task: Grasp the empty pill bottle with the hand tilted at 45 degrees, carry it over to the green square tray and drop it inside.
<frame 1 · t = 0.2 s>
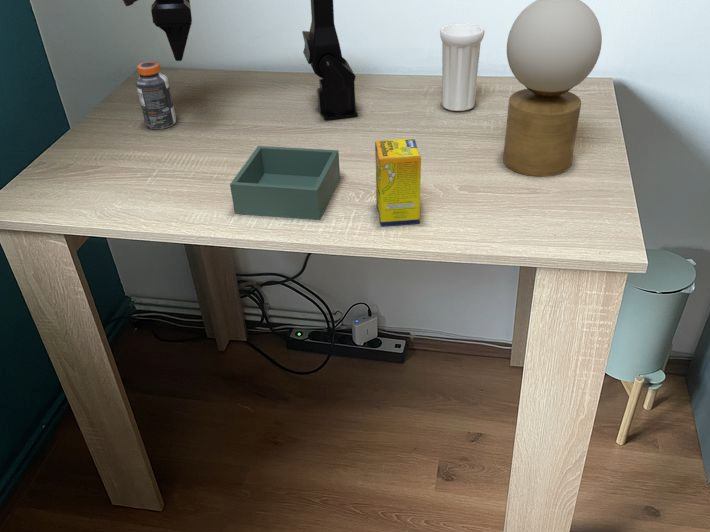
hand: (178, 52, 129), 14 cm above the table, tool pointing down, fingers open, 9 cm apart
supplement box: (397, 217, 110), on the table
green square tray: (289, 195, 116), on the table
cup: (458, 107, 141), on the table
lamp: (538, 157, 123), on the table
pill bottle: (161, 124, 141), on the table
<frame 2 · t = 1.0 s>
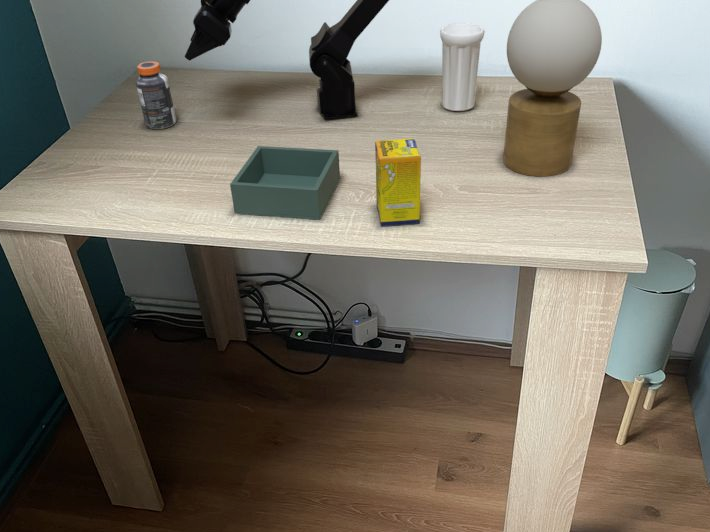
hand: (189, 50, 132), 13 cm above the table, tool tilted 45°, fingers open, 9 cm apart
nothing on the table moved.
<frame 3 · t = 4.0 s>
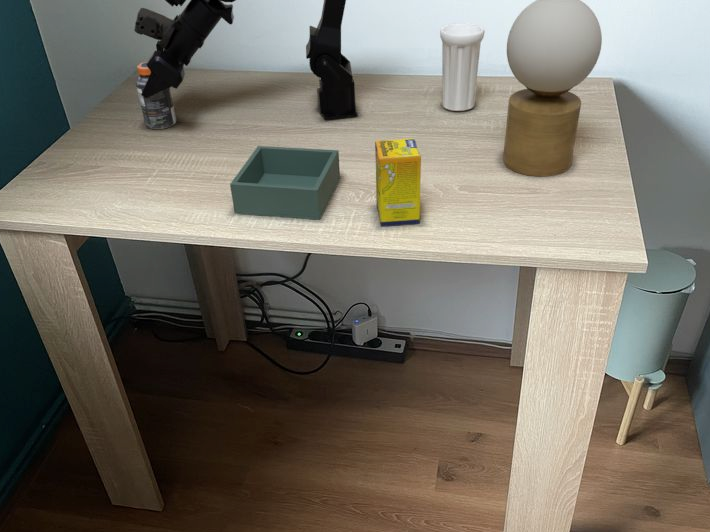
hand: (146, 90, 136), 7 cm above the table, tool tilted 45°, fingers closed on pill bottle, 6 cm apart
pill bottle: (161, 124, 141), on the table, touching gripper
everything else where it was.
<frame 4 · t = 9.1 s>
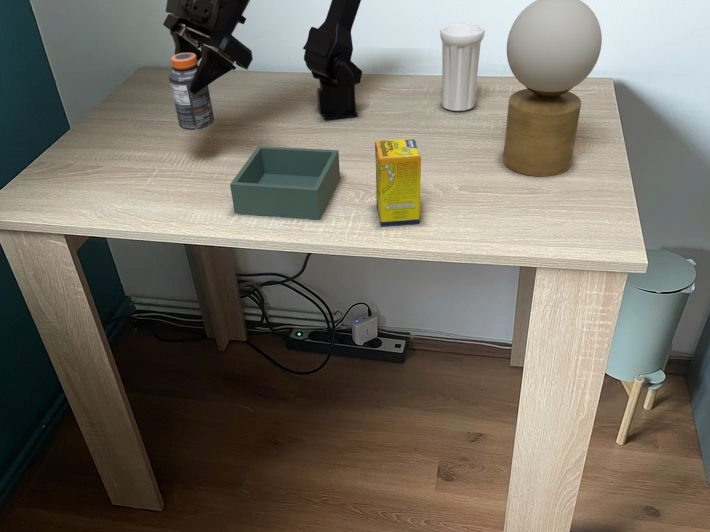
hand: (182, 87, 118), 13 cm above the table, tool tilted 45°, fingers closed on pill bottle, 6 cm apart
pill bottle: (197, 125, 123), point 6 cm above the table, touching gripper
everything else where it was.
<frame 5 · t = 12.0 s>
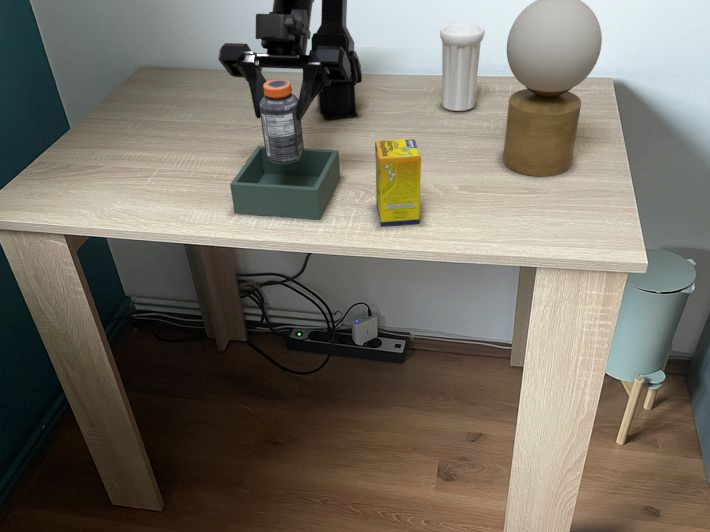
hand: (277, 118, 106), 13 cm above the table, tool tilted 45°, fingers closed on pill bottle, 6 cm apart
pill bottle: (285, 157, 112), point 6 cm above the table, touching gripper
everything else where it was.
when the fingers open (7 cm above the table, at t = 14.3 s): pill bottle stays where it is, resting on green square tray.
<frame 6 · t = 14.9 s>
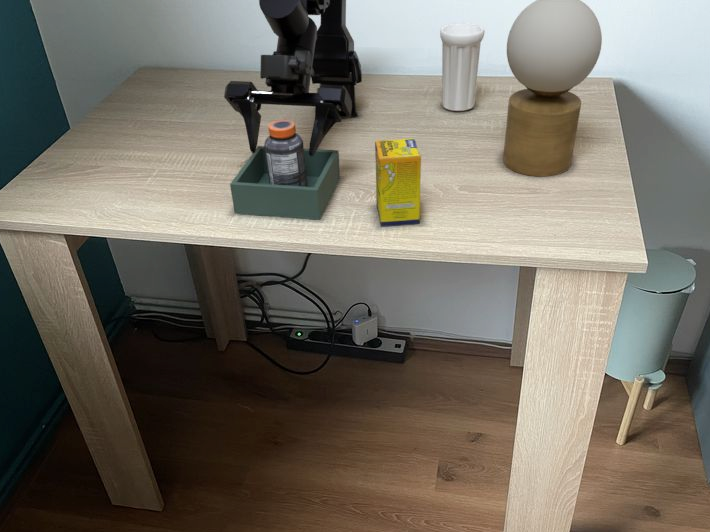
hand: (281, 153, 110), 8 cm above the table, tool tilted 45°, fingers open, 9 cm apart
pill bottle: (289, 193, 116), resting on green square tray
everything else where it was.
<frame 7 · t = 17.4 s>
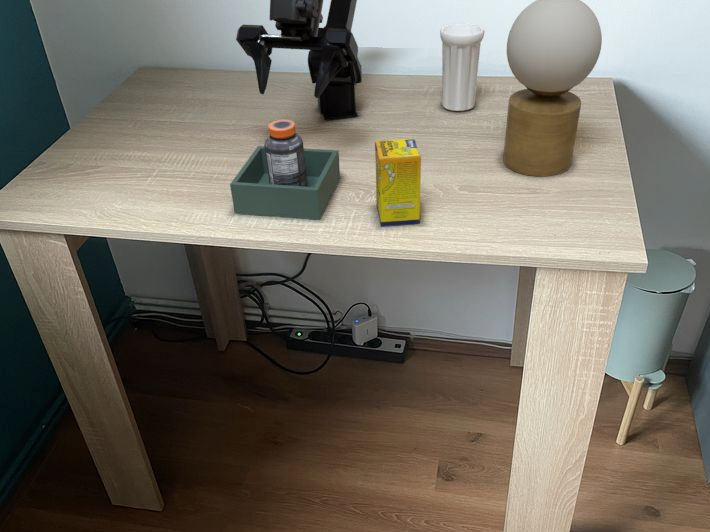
hand: (288, 95, 115), 13 cm above the table, tool tilted 45°, fingers open, 9 cm apart
nothing on the table moved.
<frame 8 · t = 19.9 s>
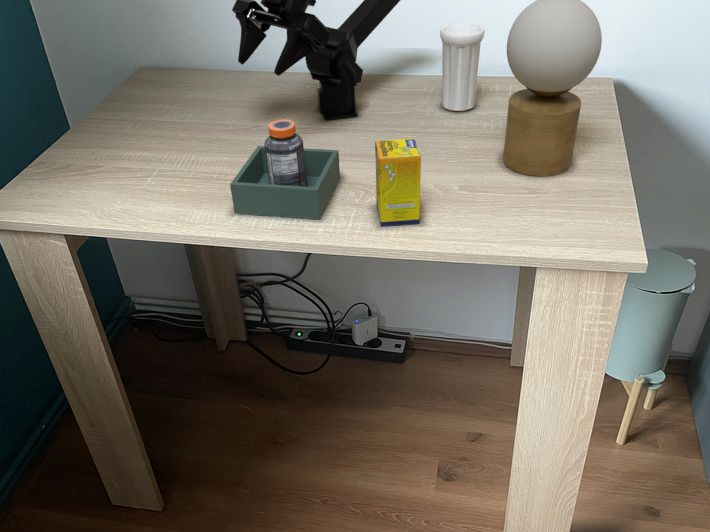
hand: (258, 68, 122), 14 cm above the table, tool tilted 45°, fingers open, 9 cm apart
nothing on the table moved.
at the end: pill bottle inside the target area in the green square tray (0.1 cm from its centre), point 0.3 cm above the green square tray's base; the gripper is holding nothing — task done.
